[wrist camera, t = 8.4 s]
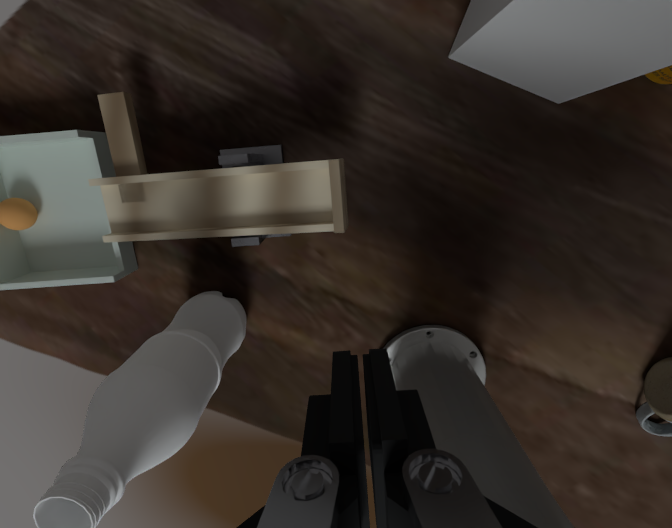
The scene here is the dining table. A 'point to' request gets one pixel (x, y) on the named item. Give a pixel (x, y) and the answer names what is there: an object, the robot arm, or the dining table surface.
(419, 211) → the dining table surface
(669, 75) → the beer can
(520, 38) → the milk
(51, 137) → the tray
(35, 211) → the ball
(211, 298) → the water bottle
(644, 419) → the ceramic mug
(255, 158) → the fulcrum
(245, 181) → the lever
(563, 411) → the dining table surface
